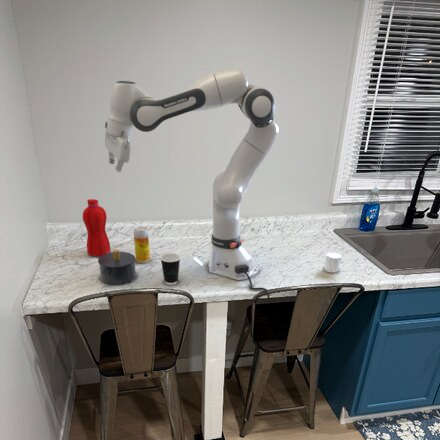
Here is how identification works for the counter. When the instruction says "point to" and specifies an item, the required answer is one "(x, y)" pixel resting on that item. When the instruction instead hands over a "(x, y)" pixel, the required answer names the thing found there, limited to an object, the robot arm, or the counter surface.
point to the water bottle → (96, 229)
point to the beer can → (141, 244)
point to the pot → (118, 274)
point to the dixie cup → (170, 267)
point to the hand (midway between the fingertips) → (114, 167)
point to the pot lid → (116, 259)
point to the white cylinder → (332, 262)
